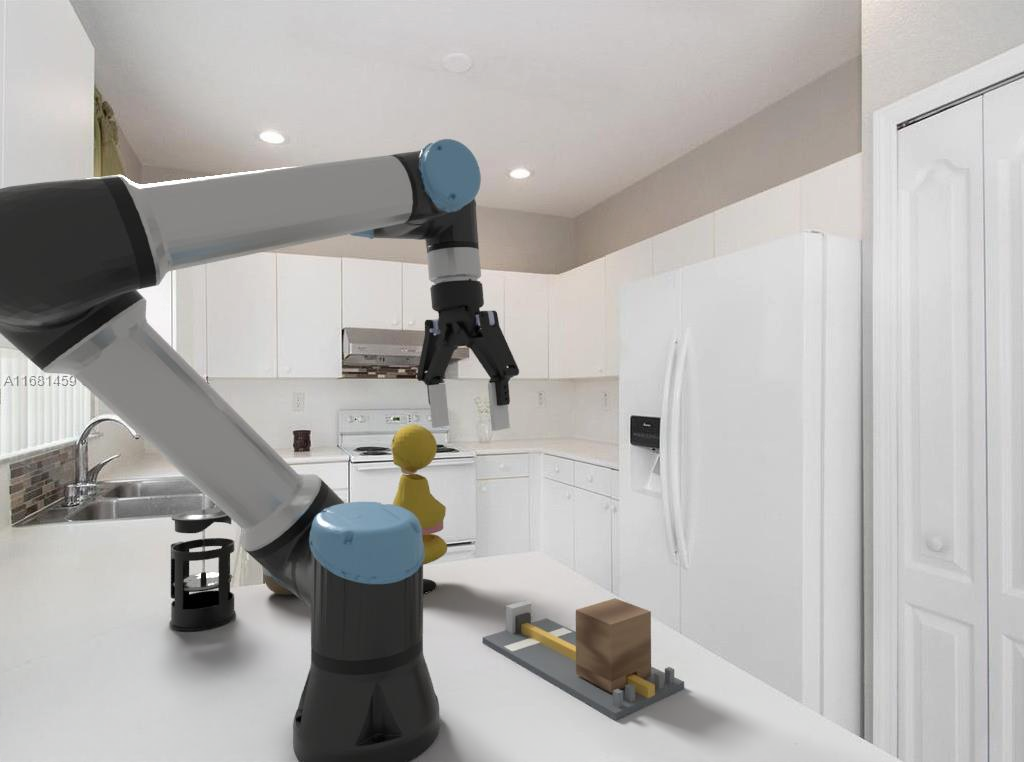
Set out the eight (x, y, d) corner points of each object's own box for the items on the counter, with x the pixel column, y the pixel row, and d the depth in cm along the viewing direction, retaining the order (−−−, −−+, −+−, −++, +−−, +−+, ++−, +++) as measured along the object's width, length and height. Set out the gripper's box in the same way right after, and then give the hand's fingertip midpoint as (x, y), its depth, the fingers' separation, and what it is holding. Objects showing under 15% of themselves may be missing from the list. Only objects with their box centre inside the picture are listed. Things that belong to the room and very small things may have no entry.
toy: (389, 572, 122) (389, 422, 122) (451, 572, 122) (450, 421, 123) (372, 599, 106) (372, 427, 107) (443, 598, 107) (442, 426, 107)
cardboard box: (651, 675, 75) (650, 611, 75) (611, 692, 71) (610, 624, 71) (615, 658, 80) (615, 598, 80) (576, 673, 76) (575, 609, 76)
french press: (252, 615, 99) (252, 473, 100) (202, 636, 91) (202, 481, 91) (199, 605, 104) (200, 469, 104) (147, 625, 95) (148, 477, 96)
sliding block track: (684, 688, 74) (684, 651, 74) (615, 720, 67) (615, 680, 67) (546, 623, 95) (546, 595, 95) (482, 642, 88) (482, 612, 88)
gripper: (536, 269, 82) (549, 426, 83) (425, 293, 100) (437, 422, 101) (495, 267, 77) (509, 435, 78) (386, 293, 95) (399, 429, 96)
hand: (469, 428), depth 89 cm, fingers open, 13 cm apart
